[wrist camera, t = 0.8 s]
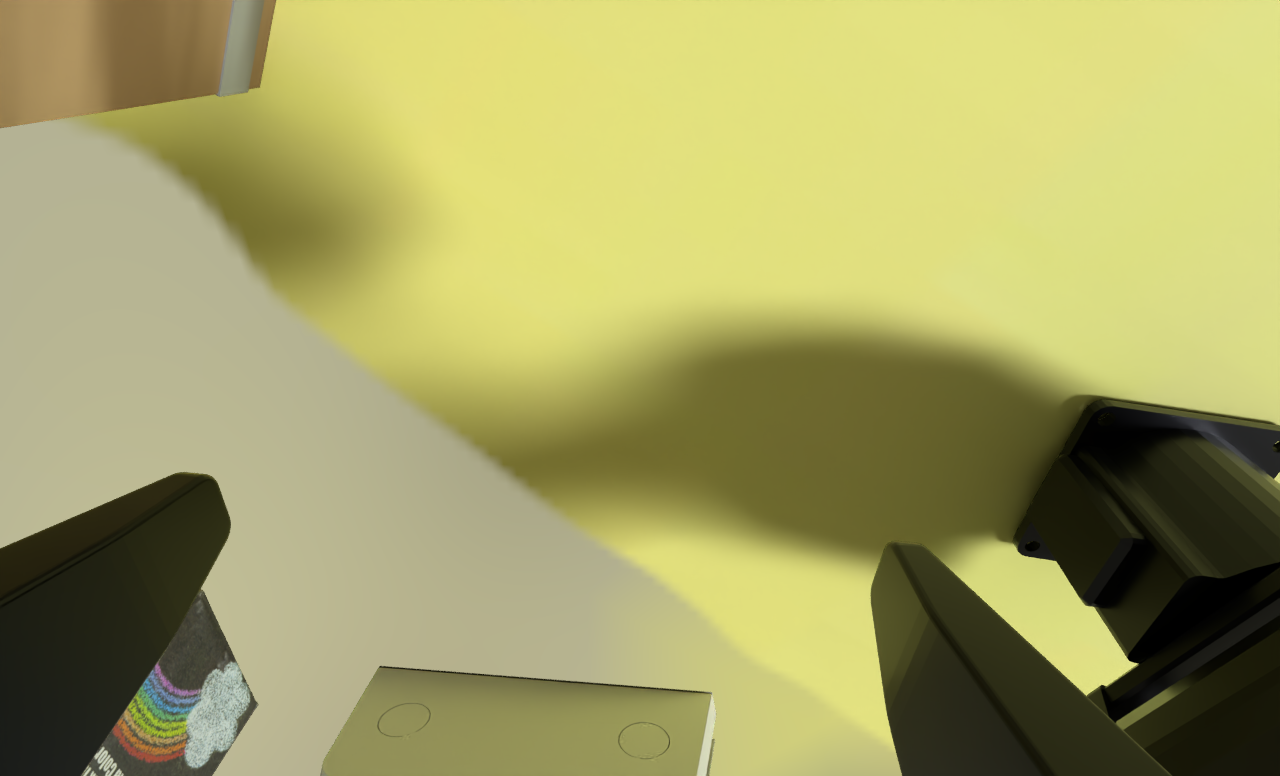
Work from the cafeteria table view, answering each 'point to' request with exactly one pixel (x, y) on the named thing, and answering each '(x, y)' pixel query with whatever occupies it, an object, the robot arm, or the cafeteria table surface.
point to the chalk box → (181, 707)
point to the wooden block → (125, 54)
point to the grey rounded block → (521, 728)
